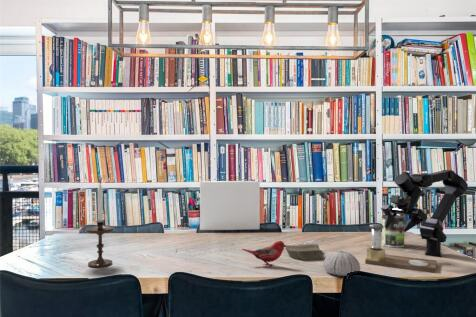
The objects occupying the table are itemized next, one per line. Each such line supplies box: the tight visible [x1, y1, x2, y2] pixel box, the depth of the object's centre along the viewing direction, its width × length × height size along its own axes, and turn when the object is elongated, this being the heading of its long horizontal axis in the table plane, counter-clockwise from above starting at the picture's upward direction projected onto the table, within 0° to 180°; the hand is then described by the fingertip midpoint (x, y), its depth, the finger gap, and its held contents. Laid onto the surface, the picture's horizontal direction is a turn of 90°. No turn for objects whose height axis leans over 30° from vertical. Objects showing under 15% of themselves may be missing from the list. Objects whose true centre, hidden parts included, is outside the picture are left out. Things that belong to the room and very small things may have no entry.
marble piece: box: [285, 243, 323, 261], centre depth 168 cm, size 17×15×4 cm
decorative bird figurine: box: [241, 240, 288, 267], centre depth 153 cm, size 3×18×10 cm, turn 81°
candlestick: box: [85, 176, 116, 269], centre depth 154 cm, size 11×11×35 cm
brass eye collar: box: [366, 246, 386, 261], centre depth 157 cm, size 7×7×4 cm
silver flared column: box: [369, 223, 383, 251], centre depth 157 cm, size 5×5×14 cm
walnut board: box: [364, 253, 438, 273], centre depth 155 cm, size 13×25×2 cm, turn 60°
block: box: [199, 180, 261, 231], centre depth 231 cm, size 35×8×28 cm, turn 96°
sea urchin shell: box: [322, 250, 361, 277], centre depth 143 cm, size 13×14×8 cm
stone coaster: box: [408, 260, 428, 266], centre depth 150 cm, size 7×7×1 cm
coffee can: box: [381, 214, 406, 249], centre depth 188 cm, size 10×10×14 cm
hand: (394, 229), depth 159 cm, fingers open, 9 cm apart
